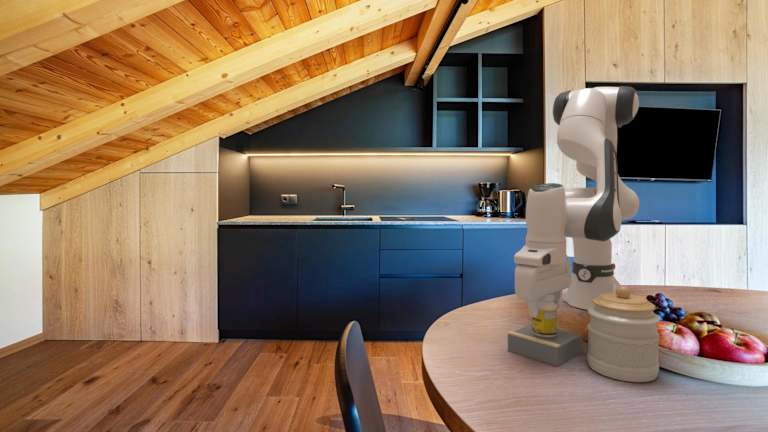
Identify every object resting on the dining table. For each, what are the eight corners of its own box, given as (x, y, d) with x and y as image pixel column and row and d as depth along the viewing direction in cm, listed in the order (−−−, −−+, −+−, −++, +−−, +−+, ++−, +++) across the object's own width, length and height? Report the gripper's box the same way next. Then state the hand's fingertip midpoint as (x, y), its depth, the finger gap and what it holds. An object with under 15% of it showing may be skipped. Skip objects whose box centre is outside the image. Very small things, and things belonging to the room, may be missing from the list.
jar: (616, 354, 93) (618, 278, 92) (674, 377, 81) (676, 290, 80) (573, 362, 89) (574, 282, 88) (627, 388, 77) (628, 296, 76)
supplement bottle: (528, 330, 98) (528, 290, 97) (550, 330, 98) (550, 290, 98) (538, 338, 92) (538, 296, 92) (561, 338, 93) (562, 295, 92)
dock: (533, 338, 104) (533, 321, 103) (581, 351, 95) (582, 333, 94) (507, 350, 96) (507, 332, 96) (557, 366, 87) (557, 346, 87)
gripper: (553, 248, 103) (553, 301, 104) (509, 256, 90) (509, 318, 91) (578, 250, 99) (578, 306, 99) (536, 259, 85) (535, 324, 86)
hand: (544, 312), depth 95 cm, fingers open, 8 cm apart
